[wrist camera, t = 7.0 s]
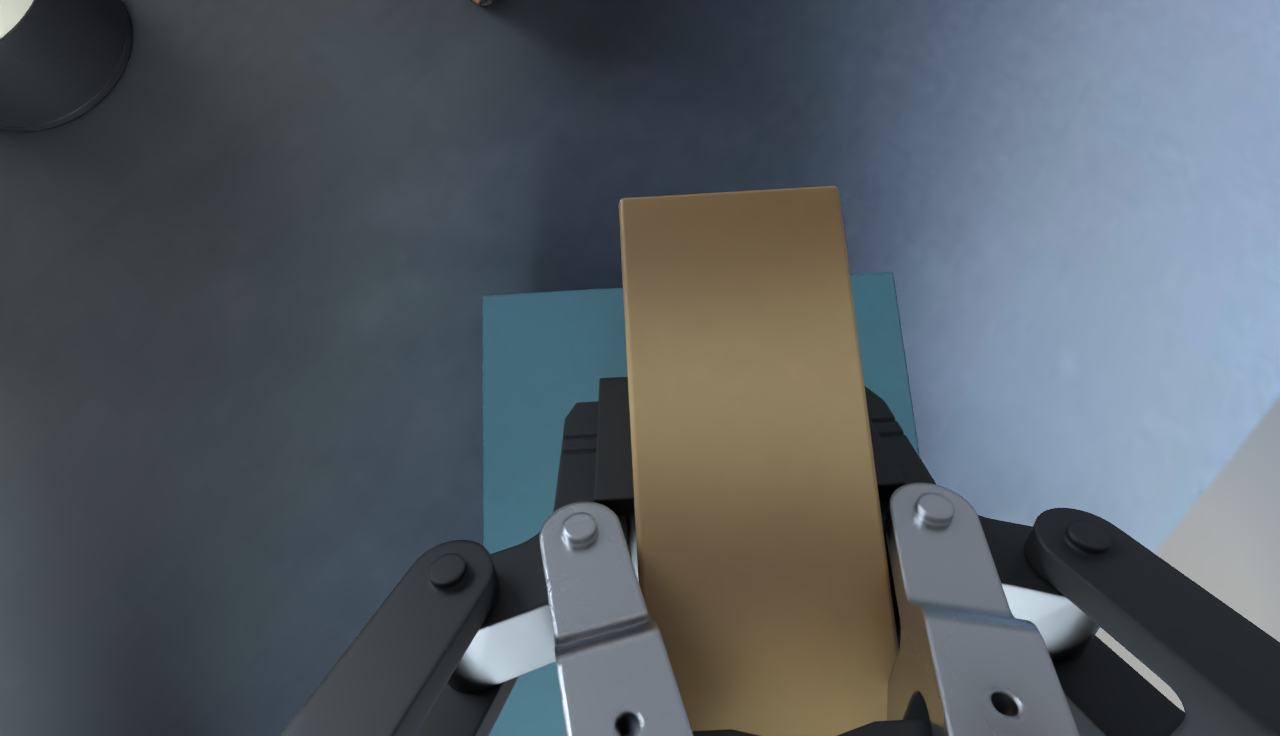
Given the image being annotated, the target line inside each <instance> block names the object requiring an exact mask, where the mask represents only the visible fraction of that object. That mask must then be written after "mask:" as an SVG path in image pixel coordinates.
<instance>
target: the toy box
mask: <svg viewBox="0 0 1280 736" xmlns="http://www.w3.org/2000/svg"><path fill="white" fill-rule="evenodd" d="M850 279H851V287H852V294H853V302H854V310H855V317H856V325H857V333H858V340H859V348H860V356H861V363H862V371H863V379H864V386H866V387H867V388H868V389H870V390H871V391H872V392H874V393H875V394H876V395H878V396H879V397H880V398H882V399H883V400H884V401H885V402H886V404H887V405H888V407H889V409H890V410H891V412H892V413H893V415H894V417H895V421H897V422H898V423H899V425H900V426H901V428H902V430H903V431H904V432H903V433H904V435H906V436H907V438H908V439H909V441H910V443H911V444H912V446H913V448H914V449H915V451H916V452H917V454H918V456H919V449H918V442H917V435H916V428H915V421H914V414H913V407H912V401H911V394H910V387H909V380H908V373H907V366H906V359H905V352H904V345H903V338H902V331H901V324H900V317H899V310H898V303H897V297H896V290H895V283H894V276H893V273H891V272H886V273H869V274H851V275H850ZM482 349H483V546H484V547H485V548H486V549H487V550H488V551H489V553H490V554H492V553H495V552H498V551H501V550H504V549H507V548H510V547H513V546H516V545H518V544H521V543H523V542H525V541H527V540H529V539H531V538H532V537H534V536H535V535H536V534H538V533H539V532H540V530H541V528H542V525H543V523H544V522H545V520H546V519H547V518H548V517H549V516H550V515H551V514H552V513H553V510H554V504H555V496H556V488H557V479H558V471H559V463H560V455H561V447H562V440H563V430H564V422H565V418H566V416H567V415H568V414H569V412H570V411H571V410H572V408H573V407H574V405H575V404H576V403H579V402H596V401H598V400H599V380H600V378H611V377H628V374H627V355H626V336H625V317H624V298H623V288H607V289H589V290H572V291H554V292H537V293H519V294H502V295H485V296H483V298H482ZM919 457H920V456H919ZM489 736H567V731H566V725H565V718H564V711H563V705H562V698H561V692H560V685H559V678H558V672H557V665H556V662H553V663H551V664H548V665H546V666H543V667H541V668H538V669H536V670H533V671H531V672H528V673H525V674H523V675H520V676H519V677H518V679H517V681H516V683H515V685H514V687H513V689H512V691H511V693H510V695H509V697H508V699H507V701H506V703H505V705H504V707H503V709H502V711H501V713H500V715H499V717H498V719H497V721H496V722H495V724H494V726H493V728H492V730H491V732H490V734H489Z"/></svg>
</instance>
